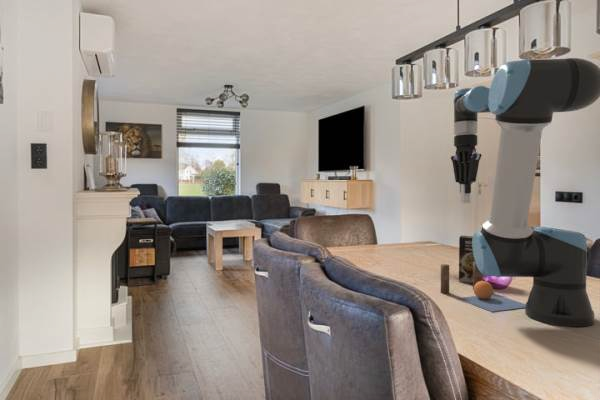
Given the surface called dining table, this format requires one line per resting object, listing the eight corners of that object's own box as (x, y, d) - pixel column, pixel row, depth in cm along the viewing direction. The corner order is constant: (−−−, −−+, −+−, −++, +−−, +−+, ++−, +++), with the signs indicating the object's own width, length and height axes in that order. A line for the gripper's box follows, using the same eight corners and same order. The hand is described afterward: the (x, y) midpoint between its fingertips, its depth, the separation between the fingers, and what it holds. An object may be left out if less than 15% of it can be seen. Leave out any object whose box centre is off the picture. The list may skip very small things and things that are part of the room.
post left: (451, 293, 130) (451, 265, 129) (444, 294, 129) (444, 266, 129) (445, 291, 132) (445, 264, 132) (439, 292, 132) (439, 264, 131)
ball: (481, 283, 127) (488, 300, 125) (467, 284, 126) (473, 302, 123) (493, 277, 123) (500, 295, 120) (478, 279, 121) (485, 297, 119)
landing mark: (532, 307, 115) (532, 306, 115) (491, 312, 110) (491, 311, 110) (494, 294, 128) (494, 294, 128) (457, 298, 124) (457, 298, 124)
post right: (483, 290, 134) (483, 262, 133) (476, 290, 133) (476, 263, 132) (477, 288, 136) (477, 261, 136) (471, 288, 135) (471, 262, 135)
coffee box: (458, 281, 145) (458, 237, 145) (460, 278, 151) (460, 235, 150) (486, 284, 141) (486, 238, 140) (487, 280, 147) (487, 236, 146)
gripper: (488, 132, 136) (487, 203, 136) (461, 137, 148) (461, 202, 149) (469, 132, 133) (469, 203, 134) (444, 136, 146) (444, 202, 147)
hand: (465, 202), depth 142 cm, fingers closed
